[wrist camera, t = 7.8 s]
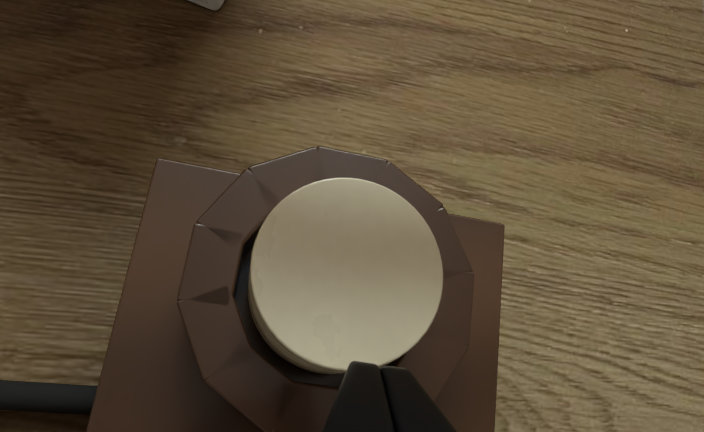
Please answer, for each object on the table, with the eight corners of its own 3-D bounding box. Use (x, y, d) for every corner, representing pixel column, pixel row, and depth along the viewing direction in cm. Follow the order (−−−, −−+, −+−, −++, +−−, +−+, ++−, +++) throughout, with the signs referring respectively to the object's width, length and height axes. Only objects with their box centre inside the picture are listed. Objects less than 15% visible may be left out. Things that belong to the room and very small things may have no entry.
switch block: (424, 645, 17) (517, 771, 11) (71, 617, 16) (-20, 746, 10) (454, 242, 21) (536, 189, 15) (175, 191, 19) (151, 110, 14)
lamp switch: (402, 385, 14) (435, 384, 11) (232, 361, 13) (232, 355, 11) (418, 224, 15) (451, 195, 13) (264, 195, 14) (269, 160, 12)
